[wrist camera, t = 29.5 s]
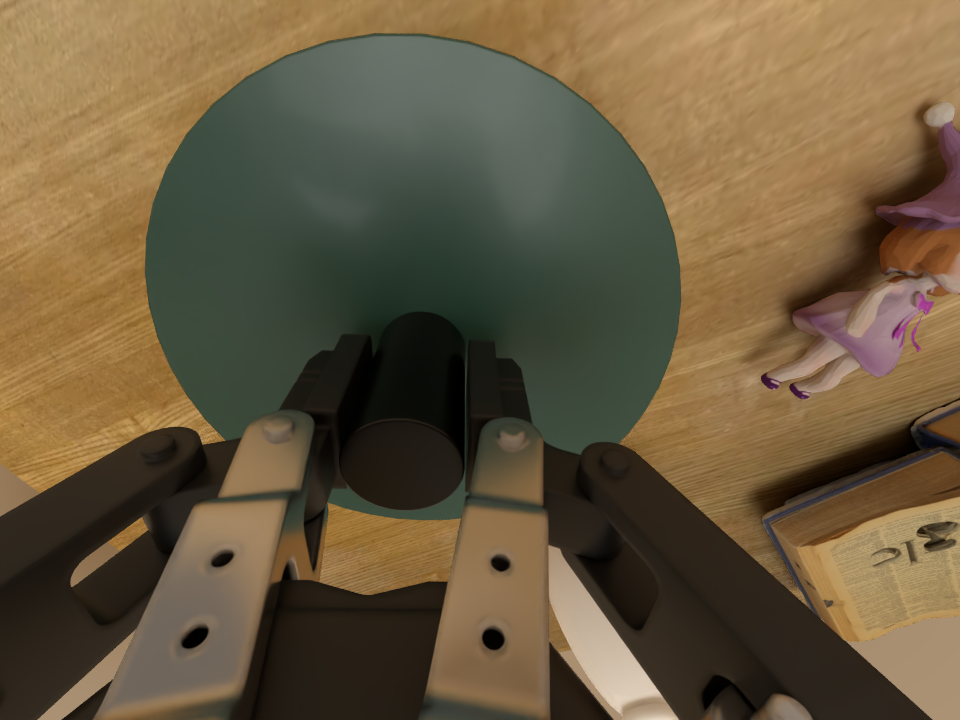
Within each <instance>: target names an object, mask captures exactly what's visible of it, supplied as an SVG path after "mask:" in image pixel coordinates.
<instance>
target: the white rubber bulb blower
mask: <svg viewBox="0 0 960 720" xmlns="http://www.w3.org/2000/svg"><path fill="white" fill-rule="evenodd" d="M548 550H549V599H550V602H551V605H552V608H553V610H554V613H555V615H556V618H557V620H558V622H559V625H560V627H561V629H562V631H563V633H564V635H565V637H566V639H567V641H568V643H569V645H570V647H571V649H572V651H573V652H574V654H575V656H576V658H577V660H578V661H579V663H580V665H581V666H582V668H583V669H584V671H585V673H586V674H587V676H588V677H589V679H590V680H591V682H592V683H593V685H594V686H595V687H596V688H597V690H598V691H599V692H600V694H601V695H602V696H603V697H604V698H605V699H606V701H607V702H608V703H609V704H610V705H611V706H612V707H613V708H614V709H615V710H617V712H618V713H620V714H621V715H622V720H679V719H678V718H677V716H676V715H675V713H674V712H673V711H672V709H671V708H670V706H669V705H668V704H667V702H666V701H665V699H664V698H663V697H662V695H661V694H660V692H659V691H658V690H657V688H656V687H655V685H654V684H653V683H652V681H651V680H650V678H649V677H648V676H647V674H646V673H645V671H644V670H643V669H642V667H641V666H640V664H639V663H638V662H637V660H636V659H635V657H634V656H633V654H632V653H631V652H630V650H629V649H628V647H627V646H626V645H625V643H624V642H623V640H622V639H621V638H620V636H619V635H618V633H617V632H616V631H615V629H614V628H613V626H612V625H611V624H610V622H609V621H608V619H607V618H606V617H605V615H604V614H603V612H602V611H601V610H600V608H599V607H598V605H597V604H596V603H595V601H594V600H593V598H592V597H591V596H590V594H589V593H588V591H587V590H586V589H585V587H584V586H583V584H582V583H581V582H580V580H579V579H578V577H577V576H576V575H575V573H574V572H573V570H572V569H571V568H570V566H569V565H568V563H567V562H566V561H565V559H564V557H563V556H562V553H561V551H560V549H559V548H556V547H553V546H550V545H548Z"/></svg>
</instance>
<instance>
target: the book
mask: <svg viewBox="0 0 960 720" xmlns="http://www.w3.org/2000/svg"><path fill="white" fill-rule="evenodd" d="M911 434H912V437H913V438H914V440H915V443H916V444H917V446H918V447H919V448H920V449H921V450H919V451H917V452H914V453H911V454H908V455H907V456H905V457H902V458H899V459H895V460H891V461H884V462H881V463H879V464H877V465H873V466H870V467H867V468H865V469H863V470H860V471H859V472H857V473H855V474H852V475H849V476H846V477H843V478H841V479H839V480H837V481H834V482H831V483H828V484H827V485H823V486H821V487H818V488H815V489H812V490H810V491H808V492H805V493H802V494H799V495H798V496H796V497H794V498H792V499H789V500H787V501H786V502H785V506H782V507H779V508H777V509H775V510H773V511H770V512H768V513H766V514H765V515H763V517H762V518H761V520H762V524H763V526H764V528H765V530H766V531H767V533H768V534H769V536H770V537H771V539H772V541H773V543H774V544H775V546H776V547H777V549H778V551H779V553H780V555H781V556H782V558H783V560H784V562H785V564H786V566H787V568H788V570H789V571H790V573H791V575H792V577H793V578H794V580H795V584H796V585H797V586H798V587H799V589H800V591H801V592H802V593H803V595H804V596H805V600H806V602H807V604H808V606H809V608H810V610H811V611H812V612H814V613H815V614H816V615H817V616H818V617H819V618H820V619H822V620H823V621H824V622H825V623H826V624H827V625H828V626H829V627H830V628H831V629H832V630H833V631H835V632H836V633H837V634H838V635H839V636H840V637H841V638H842V639H843V640H845V641H850V642H859V641H867V640H873V639H875V638H877V637H880V636H883V635H885V634H886V633H887V632H889V631H891V630H894V629H896V628H899V627H905V626H909V625H911V624H914V623H916V622H918V621H920V620H923V619H928V618H942V617H952V616H960V400H958V401H957V402H953V403H952V404H950V405H948V406H946V407H942V408H938V409H936V410H934V411H933V412H930V413H927V414H926V415H925V416H922V417H921V418H920V419H918V420H917V421H916V422H915V424H914V425H913V426H912V428H911Z"/></svg>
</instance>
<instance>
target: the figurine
mask: <svg viewBox="0 0 960 720" xmlns="http://www.w3.org/2000/svg"><path fill="white" fill-rule="evenodd" d="M954 113H955V107H954V106H953V105H952V104H950V103H949V102H941V103H938V104H936V105H934V106H932V107H930V108H929V109H928V110H927V111H926V113H925V114H924V121H925V123H926V124H928V125H929V126H932V127H937V128H938V142H939V149H940V154H941V156H942V158H943V160H944V162H945V164H946V166H947V174H946V176H945V178H944V180H943V182H942V183H941V184H940V185H938V186H937V187H936V188H935V189H933V190H932V191H931V192H929V193H928V194H926V195H925V196H923V197H921V198H919V199H917V200H915V201H913V202H906V203H903V204H900V205H898V206H888V205H884V206H878V207H877V208H876V215H878V216H880V217H882V218H883V219H885V220H886V221H887V222H889V223H891V224H893V225H896V226H897V227H896V228H895V229H893V230H892V231H891V232H890V233H889V234H888V235H887V236H886V237H885V238H884V240H883V241H882V243H881V245H880V248H879V256H880V265H881V270H882V273H883V274H884V275H889V274H891V273H893V272H897V273H900V274H902V275H904V276H902V275H900V276H895V277H891V278H890V279H888V280H886V281H884V282H882V283H880V284H878V285H877V286H875V287H873V288H872V289H871V290H860V291H849V292H838V293H836V294H833V295H831V296H828V297H826V298H824V299H822V300H820V301H818V302H816V303H814V304H813V305H811V306H808V307H805V308H802V309H799V310H797V311H795V312H794V313H793V318H792V320H793V323H794V324H795V326H796V327H797V328H798V329H800V330H801V331H803V332H805V333H808V334H811V335H814V336H816V337H817V338H816V340H815V341H814V342H813V343H812V345H811V346H810V347H809V349H808V350H807V351H806V352H805V354H804V355H803V356H802V357H801V358H799V359H797V360H795V361H792V362H789V363H786V364H782V365H780V366H778V367H776V368H774V369H773V370H771V371H769V372H767V373H765V374H763V375H762V376H761V381H762V382H763V383H764V385H766V386H767V387H768V388H769V389H772V390H773V389H777V388H778V387H779V385H780V383H781V382H783V381H786V380H790V379H795V378H799V377H803V376H806V375H809V374H811V373H812V372H813V371H815V370H816V369H817V368H819V367H821V366H823V365H825V364H827V363H828V364H827V365H826V367H825V368H824V369H823V370H821V371H820V372H818V373H817V374H816V375H814V376H813V377H811V378H808V379H805V380H802V381H799V382H794V383H792V384H790V386H789V388H790V390H791V392H792V393H793V394H794V395H795V396H797V397H798V398H800V399H807V398H809V397H810V393H813V392H822V391H826V390H829V389H831V388H833V387H835V386H836V385H838V383H839V382H840V380H841V379H842V377H843V376H845V375H847V374H848V373H850V372H852V371H854V370H856V369H857V368H859V367H862V368H863V369H864V370H865V371H866V372H868V373H869V374H871V375H873V376H874V377H882V376H883V375H887V374H889V373H890V372H892V370H893V369H894V367H895V366H896V364H897V362H898V360H899V358H900V356H901V354H902V350H903V345H904V339H905V331H906V326H907V325H908V323H909V322H910V321H911V320H912V319H913V318H914V317H915V316H916V315H917V314H918V313H919V312H920V311H924V314H925V315H927V314H928V312H929V311H930V309H931V307H932V305H933V303H934V301H933V300H930V299H928V298H927V294H929V295H933V296H944V295H946V294H949V293H950V292H951V293H955V294H960V133H959V132H958V131H957V130H956V129H955V128H954V127H953V123H952V119H953V116H954ZM921 317H922V316H921ZM920 320H921V318H920ZM920 320H919V322H918V324H919V323H920ZM918 324H917V326H918ZM917 326H916V327H915V328H914V330H913V332H912V334H911V341H912V343H913V345H914V346H915V347H916V349H917V352H918V351H920V349H921V348H920V347H919V346H918V345H917V344H916V342H915V341H914V335H915V333H916V328H917Z"/></svg>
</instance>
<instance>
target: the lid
mask: <svg viewBox="0 0 960 720" xmlns="http://www.w3.org/2000/svg"><path fill="white" fill-rule="evenodd" d="M145 277H146V285H147V293H148V301H149V308H150V311H151V315H152V318H153V322H154V326H155V329H156V333H157V337H158V339H159V342H160V344H161V347H162V349H163V351H164V354H165V356H166V358H167V361H168V363H169V365H170V368H171V369H172V371H173V373H174V374H175V376H176V378H177V379H178V381H179V383H180V385H181V386H182V388H183V390H184V391H185V393H186V395H187V396H188V397H189V399H190V400H191V401H192V403H193V404H194V405H195V407H196V408H197V409H198V411H199V412H200V413H201V414H202V416H203V417H204V418H205V419H206V421H207V422H208V423H209V424H210V425H211V426H212V427H213V428H214V429H215V430H216V431H217V432H218V433H219V434H220V435H221V436H222V437H223V438H224V439H225V440H226V441H227V440H233V439H237V438H241V437H242V436H243V434H244V432H245V430H246V428H247V427H248V426H249V424H251V423H252V422H253V421H254V420H256V419H257V418H259V417H261V416H263V415H265V414H267V413H270V412H274V411H278V410H279V408H280V407H281V405H282V403H283V402H284V400H285V398H286V397H287V395H288V393H289V392H290V390H291V388H292V387H293V385H294V383H295V382H297V379H298V377H299V375H300V374H301V373H302V370H303V369H304V367H305V365H306V364H307V362H308V360H309V359H310V358H312V357H313V356H315V355H316V354H318V353H319V352H321V351H322V350H330V351H333V350H334V349H335V347H336V345H337V343H338V341H339V339H340V337H341V335H342V334H360V335H370V336H371V340H372V351H373V361H372V363H371V366H370V369H369V372H368V375H367V377H366V380H365V383H364V386H363V388H362V391H361V394H360V397H359V400H358V402H357V405H356V408H355V411H354V414H353V416H352V419H351V422H350V425H349V428H348V430H347V433H346V436H345V439H344V442H343V444H342V447H341V450H340V453H339V468H340V472H341V475H342V477H343V479H344V481H345V483H346V484H347V489H332V491H331V493H330V496H329V499H328V503H331V504H334V505H337V506H340V507H343V508H346V509H350V510H354V511H358V512H362V513H367V514H371V515H377V516H383V517H390V518H397V519H411V520H450V519H459V518H461V515H462V510H463V506H464V501H465V497H466V495H469V492H465V397H466V378H467V361H468V345H469V340H489V341H494V342H495V350H496V358H512V359H513V360H514V361H515V362H516V363H517V364H518V366H519V367H520V368H521V370H522V374H523V379H524V384H525V391H526V394H527V399H528V404H529V408H530V413H531V418H532V423H533V425H534V426H535V427H537V428H538V430H539V431H540V432H541V434H542V436H543V440H544V441H545V442H546V443H548V444H550V445H552V446H554V447H556V448H558V449H562V450H565V451H569V452H572V453H576V454H580V455H581V453H582V451H583V449H584V448H585V447H587V446H588V445H590V444H592V443H596V442H612V443H616V444H619V443H620V442H621V441H622V439H623V438H624V437H625V436H626V435H627V434H628V433H629V432H630V431H631V429H632V428H633V427H634V425H635V424H636V423H637V421H638V420H639V419H640V417H641V416H642V415H643V413H644V412H645V411H646V409H647V407H648V405H649V404H650V402H651V400H652V398H653V397H654V395H655V393H656V391H657V390H658V388H659V386H660V384H661V381H662V379H663V376H664V374H665V371H666V369H667V367H668V364H669V362H670V359H671V355H672V351H673V347H674V343H675V340H676V336H677V332H678V323H679V315H680V306H681V280H680V264H679V259H678V253H677V248H676V242H675V236H674V232H673V230H672V227H671V224H670V221H669V218H668V215H667V212H666V209H665V206H664V203H663V200H662V198H661V196H660V194H659V192H658V191H657V189H656V187H655V185H654V183H653V181H652V179H651V177H650V175H649V173H648V171H647V169H646V167H645V166H644V164H643V163H642V162H641V160H640V159H639V158H638V156H637V155H636V153H635V152H634V151H633V149H632V148H631V147H630V145H629V144H628V143H627V141H626V140H625V138H624V137H623V136H622V134H621V133H620V132H619V131H618V130H617V129H616V128H615V127H614V126H613V125H612V124H611V123H610V122H609V121H608V120H607V119H606V118H605V117H604V116H603V115H602V114H601V113H600V112H599V111H598V110H597V109H596V108H595V107H594V106H593V105H592V104H591V103H589V102H588V101H587V100H585V99H584V98H582V97H581V96H580V95H578V94H577V93H576V92H574V91H573V90H572V89H570V88H569V87H567V86H566V85H565V84H563V83H562V82H561V81H559V80H558V79H557V78H555V77H553V76H551V75H549V74H547V73H545V72H544V71H542V70H540V69H538V68H536V67H534V66H532V65H530V64H528V63H526V62H524V61H522V60H520V59H518V58H516V57H515V56H512V55H509V54H506V53H503V52H500V51H497V50H494V49H491V48H488V47H485V46H482V45H479V44H476V43H473V42H470V41H464V40H458V39H452V38H446V37H440V36H434V35H428V34H395V33H374V34H368V35H362V36H356V37H349V38H343V39H337V40H331V41H327V42H324V43H321V44H318V45H315V46H312V47H309V48H306V49H303V50H300V51H297V52H294V53H291V54H288V55H285V56H284V57H282V58H280V59H278V60H276V61H274V62H273V63H271V64H269V65H267V66H265V67H263V68H262V69H260V70H258V71H256V72H254V73H252V74H251V75H249V76H247V77H245V78H244V79H243V80H242V81H240V82H239V83H238V84H237V85H236V86H234V87H233V88H232V89H231V90H229V91H228V92H227V93H226V94H224V95H223V96H222V97H221V98H219V99H218V100H217V101H216V102H214V103H213V104H212V105H211V107H210V108H209V109H208V110H207V111H206V112H205V113H204V115H203V116H202V117H201V118H200V119H199V120H198V121H197V123H196V124H195V125H194V126H193V127H192V128H191V129H190V131H189V132H188V133H187V134H186V136H185V137H184V139H183V141H182V142H181V144H180V146H179V147H178V149H177V151H176V152H175V154H174V156H173V158H172V159H171V161H170V163H169V164H168V166H167V168H166V170H165V173H164V175H163V178H162V181H161V183H160V186H159V189H158V191H157V194H156V197H155V199H154V202H153V206H152V211H151V216H150V221H149V226H148V231H147V236H146V258H145Z"/></svg>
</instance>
